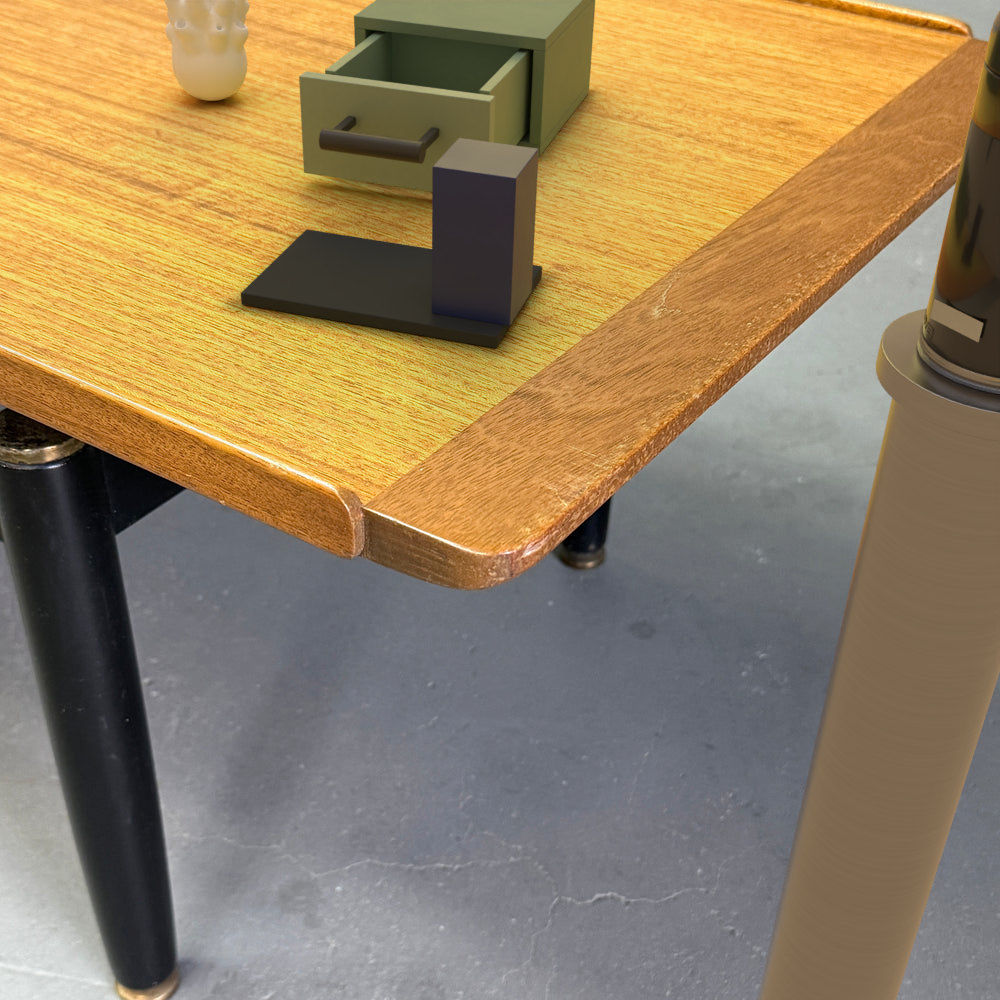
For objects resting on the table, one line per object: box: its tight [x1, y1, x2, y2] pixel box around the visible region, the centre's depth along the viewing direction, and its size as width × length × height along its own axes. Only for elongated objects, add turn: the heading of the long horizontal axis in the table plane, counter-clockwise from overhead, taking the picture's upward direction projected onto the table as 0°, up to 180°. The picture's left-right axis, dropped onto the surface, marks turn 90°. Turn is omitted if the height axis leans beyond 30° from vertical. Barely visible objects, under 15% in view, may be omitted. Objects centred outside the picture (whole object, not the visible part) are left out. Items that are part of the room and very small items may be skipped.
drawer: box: [298, 31, 534, 193], centre depth 99 cm, size 19×14×7 cm
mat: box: [240, 228, 543, 349], centre depth 85 cm, size 16×10×1 cm, turn 73°
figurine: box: [164, 0, 250, 102], centre depth 110 cm, size 7×7×12 cm
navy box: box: [431, 138, 539, 327], centre depth 80 cm, size 5×5×9 cm
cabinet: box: [353, 0, 596, 157], centre depth 110 cm, size 16×15×9 cm
